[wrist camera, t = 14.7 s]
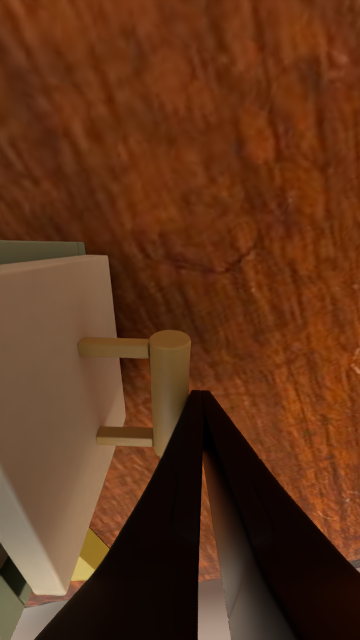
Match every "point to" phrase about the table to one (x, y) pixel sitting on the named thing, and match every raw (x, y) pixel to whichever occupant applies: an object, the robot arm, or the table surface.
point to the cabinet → (8, 583)
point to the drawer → (68, 407)
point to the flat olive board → (89, 556)
